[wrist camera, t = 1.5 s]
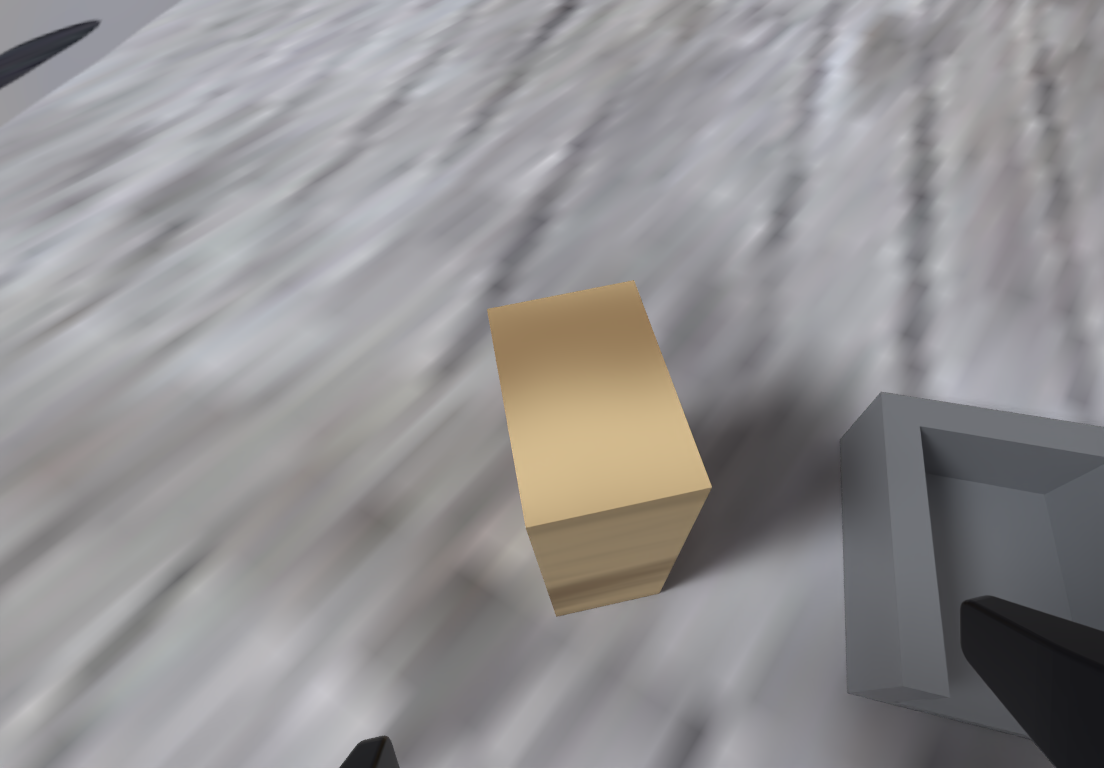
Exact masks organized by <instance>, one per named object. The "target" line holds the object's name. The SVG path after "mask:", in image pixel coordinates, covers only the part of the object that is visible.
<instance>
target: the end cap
mask: <svg viewBox="0 0 1104 768" xmlns="http://www.w3.org/2000/svg"><path fill="white" fill-rule="evenodd" d="M840 453H841V488H842V523H843V558H844V593H845V628H846V663H847V693H849V694H853V695H857V696H861V697H865V698H869V699H873V700H877V701H881V702H885V703H889V704H893V705H897V706H901V707H905V708H909V709H913V710H917V711H921V712H925V713H929V714H933V715H937V716H941V717H944V718H948V719H952V720H956V721H960V722H964V723H968V724H972V725H976V726H980V727H984V728H988V729H992V730H996V731H1000V732H1004V733H1008V734H1012V735H1016V736H1020V737H1024V738H1028V739H1031V738H1030V737H1029V736H1028V735H1027V733H1026V732H1025V731H1024V730H1023V729H1022V727H1021V726H1020V725H1019V724H1018V722H1017V721H1016V720H1015V719H1014V718H1013V716H1012V715H1011V714H1010V713H1009V712H1008V710H1007V709H1006V708H1005V707H1004V705H1003V704H1002V703H1001V702H1000V701H999V699H998V698H997V697H996V696H995V694H994V693H993V692H992V691H991V690H990V688H989V687H988V686H987V685H986V683H985V682H984V681H983V680H982V679H981V677H980V676H979V675H978V674H977V673H976V671H975V670H974V669H973V668H972V666H971V665H970V664H969V663H968V661H967V660H966V658H965V656H964V654H963V652H962V649H961V646H960V605H961V603H962V602H963V601H964V600H967V599H971V598H975V597H980V596H984V595H990V596H995V597H998V598H1001V599H1004V600H1007V601H1010V602H1014V603H1017V604H1020V605H1023V606H1026V607H1029V608H1032V609H1036V610H1039V611H1042V612H1045V613H1048V614H1051V615H1054V616H1058V617H1061V618H1064V619H1067V620H1070V621H1073V622H1076V623H1080V624H1083V625H1086V626H1089V627H1092V628H1095V629H1098V630H1102V631H1104V427H1101V426H1094V425H1088V424H1082V423H1075V422H1069V421H1063V420H1056V419H1050V418H1044V417H1037V416H1031V415H1025V414H1018V413H1012V412H1006V411H999V410H993V409H987V408H980V407H974V406H968V405H962V404H955V403H949V402H943V401H936V400H930V399H924V398H917V397H911V396H905V395H898V394H892V393H886V392H881V393H880V394H879V395H878V396H877V397H876V398H875V400H874V401H873V402H872V403H871V404H870V405H869V407H868V408H867V409H866V410H865V411H864V412H863V414H862V415H861V416H860V417H859V418H858V419H857V421H856V422H855V423H854V424H853V425H852V426H851V427H850V429H849V430H848V431H847V432H846V433H845V434H844V436H843V437H842V438H841V439H840Z"/></svg>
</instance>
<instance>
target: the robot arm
mask: <svg viewBox="0 0 1104 768" xmlns="http://www.w3.org/2000/svg"><path fill="white" fill-rule="evenodd" d="M960 646H961V649H962V652H963V654H964V656H965V658H966V660H967V661H968V663H969V664H970V665H971V666H972V668H973V669H974V670H975V671H976V673H977V674H978V675H979V676H980V677H981V679H982V680H983V681H984V682H985V683H986V685H987V686H988V687H989V688H990V690H991V691H992V692H993V693H994V694H995V696H996V697H997V698H998V699H999V701H1000V702H1001V703H1002V704H1003V705H1004V707H1005V708H1006V709H1007V710H1008V712H1009V713H1010V714H1011V715H1012V716H1013V718H1014V719H1015V720H1016V721H1017V722H1018V724H1019V725H1020V726H1021V727H1022V729H1023V730H1024V731H1025V732H1026V733H1027V735H1028V736H1029V737H1030V738H1031V740H1032V741H1033V742H1034V743H1035V744H1036V745H1037V747H1038V748H1039V749H1040V750H1041V751H1042V752H1043V754H1044V755H1045V756H1046V757H1047V758H1048V759H1049V761H1050V762H1051V763H1052V764H1053V765H1054V766H1055V767H1056V768H1104V631H1102V630H1098V629H1095V628H1092V627H1089V626H1086V625H1083V624H1080V623H1076V622H1073V621H1070V620H1067V619H1064V618H1061V617H1058V616H1054V615H1051V614H1048V613H1045V612H1042V611H1039V610H1036V609H1032V608H1029V607H1026V606H1023V605H1020V604H1017V603H1014V602H1010V601H1007V600H1004V599H1001V598H998V597H995V596H990V595H984V596H980V597H975V598H971V599H967V600H964V601H963V602H962V603H961V605H960ZM339 768H400V767H399V764H398V761H397V758H396V755H395V751H394V748H393V745H392V742H391V740H390V739H389V737H387V736H379V737H375V738H371V739H366V740H363V741H361V742H360V743H358V744H357V745H356V747H355V748H354V749H353V750H352V752H351V753H350V754H349V756H348V757H347V758H346V760H345V761H344V762H343V763H342V765H341V766H340V767H339Z"/></svg>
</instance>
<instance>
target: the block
mask: <svg viewBox="0 0 1104 768" xmlns="http://www.w3.org/2000/svg"><path fill="white" fill-rule="evenodd" d="M487 311H488V317H489V322H490V328H491V334H492V339H493V345H494V351H495V356H496V362H497V368H498V373H499V379H500V385H501V390H502V396H503V401H504V407H505V413H506V418H507V424H508V430H509V435H510V441H511V447H512V452H513V458H514V464H515V469H516V475H517V481H518V486H519V492H520V498H521V503H522V509H523V515H524V520H525V526H526V530H527V533H528V535H529V538H530V541H531V544H532V547H533V550H534V553H535V556H536V559H537V562H538V565H539V567H540V570H541V573H542V576H543V579H544V582H545V585H546V588H547V591H548V594H549V596H550V599H551V602H552V605H553V608H554V611H555V614H556V617H557V616H561V615H566V614H570V613H575V612H579V611H584V610H588V609H592V608H597V607H601V606H606V605H610V604H615V603H619V602H623V601H628V600H632V599H637V598H641V597H646V596H650V595H654V594H659V593H660V591H661V589H662V587H663V585H664V583H665V581H666V579H667V577H668V575H669V573H670V571H671V569H672V567H673V565H674V563H675V561H676V559H677V557H678V555H679V553H680V551H681V549H682V547H683V545H684V543H685V541H686V539H687V537H688V535H689V533H690V531H691V529H692V527H693V525H694V523H695V521H696V519H697V517H698V515H699V513H700V511H701V509H702V507H703V504H704V502H705V500H706V498H707V496H708V494H709V492H710V490H711V488H712V486H711V483H710V481H709V478H708V475H707V473H706V470H705V467H704V465H703V462H702V459H701V457H700V454H699V451H698V449H697V446H696V444H695V441H694V438H693V436H692V433H691V430H690V428H689V425H688V422H687V420H686V417H685V414H684V412H683V409H682V406H681V404H680V401H679V398H678V396H677V393H676V391H675V388H674V385H673V383H672V380H671V377H670V375H669V372H668V369H667V367H666V364H665V361H664V359H663V356H662V353H661V351H660V348H659V345H658V343H657V340H656V338H655V335H654V332H653V330H652V327H651V324H650V322H649V319H648V316H647V314H646V311H645V308H644V306H643V303H642V300H641V298H640V295H639V292H638V290H637V287H636V285H635V282H634V280H633V281H628V282H623V283H618V284H613V285H608V286H602V287H597V288H592V289H587V290H582V291H577V292H572V293H567V294H562V295H557V296H551V297H546V298H541V299H536V300H531V301H526V302H521V303H516V304H511V305H506V306H501V307H495V308H490V309H487Z"/></svg>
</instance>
